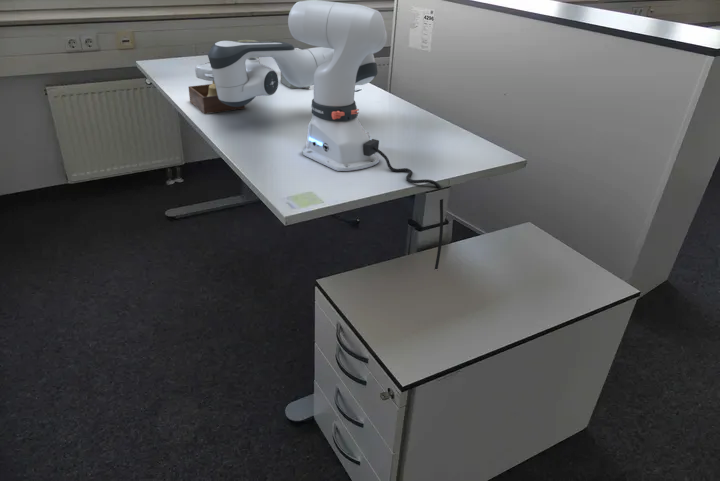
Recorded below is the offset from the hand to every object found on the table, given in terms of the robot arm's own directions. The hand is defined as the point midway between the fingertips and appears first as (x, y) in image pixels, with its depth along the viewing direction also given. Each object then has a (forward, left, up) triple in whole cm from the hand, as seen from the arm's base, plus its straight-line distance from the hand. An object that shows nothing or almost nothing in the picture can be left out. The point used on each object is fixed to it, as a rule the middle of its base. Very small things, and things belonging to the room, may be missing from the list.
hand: (212, 64), depth 182 cm
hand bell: (-1, 0, -12) cm, 12 cm away
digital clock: (+11, -36, -14) cm, 40 cm away
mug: (+33, -26, -14) cm, 44 cm away
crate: (-1, 0, -13) cm, 13 cm away
